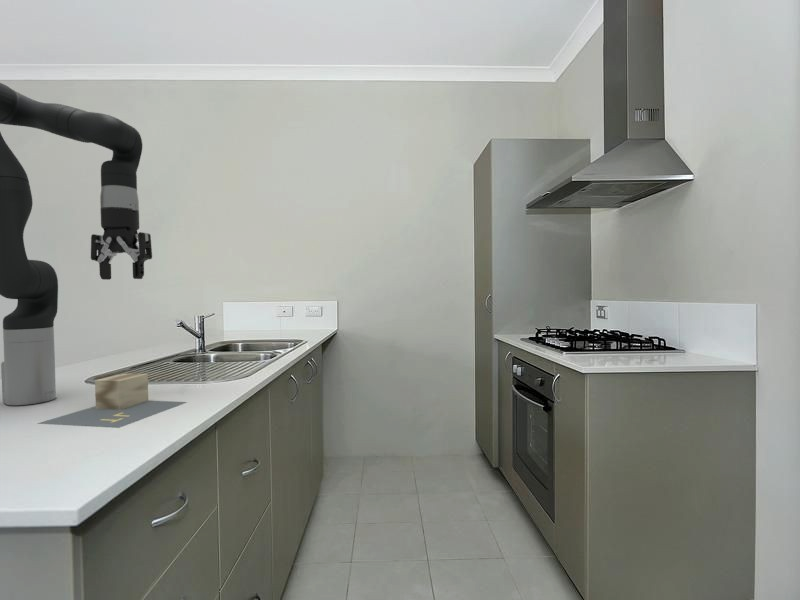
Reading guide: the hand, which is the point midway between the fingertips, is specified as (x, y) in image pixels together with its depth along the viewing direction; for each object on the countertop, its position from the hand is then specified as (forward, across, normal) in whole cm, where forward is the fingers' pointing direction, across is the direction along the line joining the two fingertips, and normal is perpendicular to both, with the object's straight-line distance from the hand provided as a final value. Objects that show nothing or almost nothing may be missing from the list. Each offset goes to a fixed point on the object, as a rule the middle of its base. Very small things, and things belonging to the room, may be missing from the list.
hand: (122, 279), depth 105 cm
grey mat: (+28, +8, -10) cm, 31 cm away
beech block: (+28, +4, -5) cm, 28 cm away
